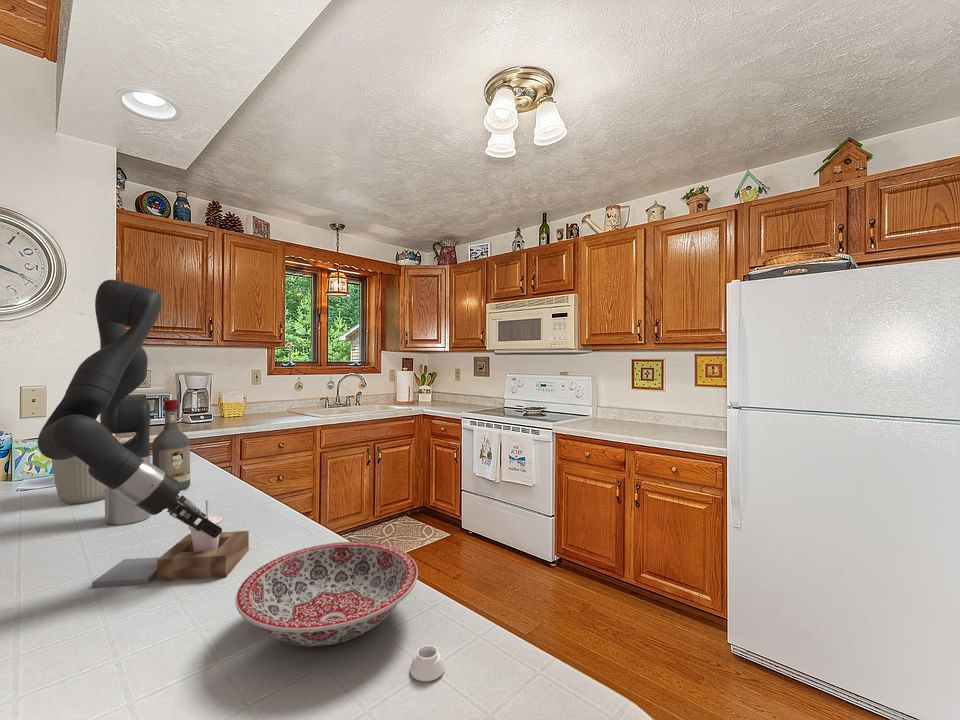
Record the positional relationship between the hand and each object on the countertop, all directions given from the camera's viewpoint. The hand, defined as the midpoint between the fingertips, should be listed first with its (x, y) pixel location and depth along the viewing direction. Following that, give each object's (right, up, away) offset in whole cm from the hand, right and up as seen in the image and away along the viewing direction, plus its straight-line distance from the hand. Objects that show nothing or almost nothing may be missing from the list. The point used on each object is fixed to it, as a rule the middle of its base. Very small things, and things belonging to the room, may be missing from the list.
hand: (214, 529), depth 101 cm
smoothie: (-1, -8, -1) cm, 8 cm away
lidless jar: (+51, -8, -34) cm, 62 cm away
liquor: (-45, -6, +53) cm, 70 cm away
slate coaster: (-14, -7, -5) cm, 16 cm away
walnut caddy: (-1, -7, -1) cm, 8 cm away
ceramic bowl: (+33, -8, -22) cm, 41 cm away
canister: (-65, -7, +43) cm, 79 cm away
